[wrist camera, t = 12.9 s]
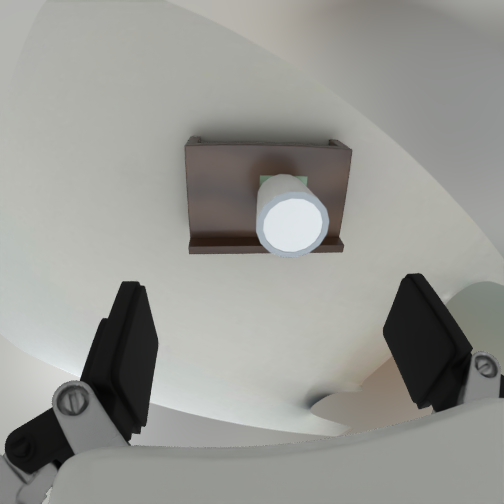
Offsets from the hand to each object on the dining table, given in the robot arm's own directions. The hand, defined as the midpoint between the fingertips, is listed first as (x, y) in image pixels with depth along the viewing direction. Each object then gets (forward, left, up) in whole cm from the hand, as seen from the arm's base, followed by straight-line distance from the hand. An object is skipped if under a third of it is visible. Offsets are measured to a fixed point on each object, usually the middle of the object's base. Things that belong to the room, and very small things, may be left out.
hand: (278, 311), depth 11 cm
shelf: (+6, +3, -29) cm, 30 cm away
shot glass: (+6, +4, -24) cm, 25 cm away
